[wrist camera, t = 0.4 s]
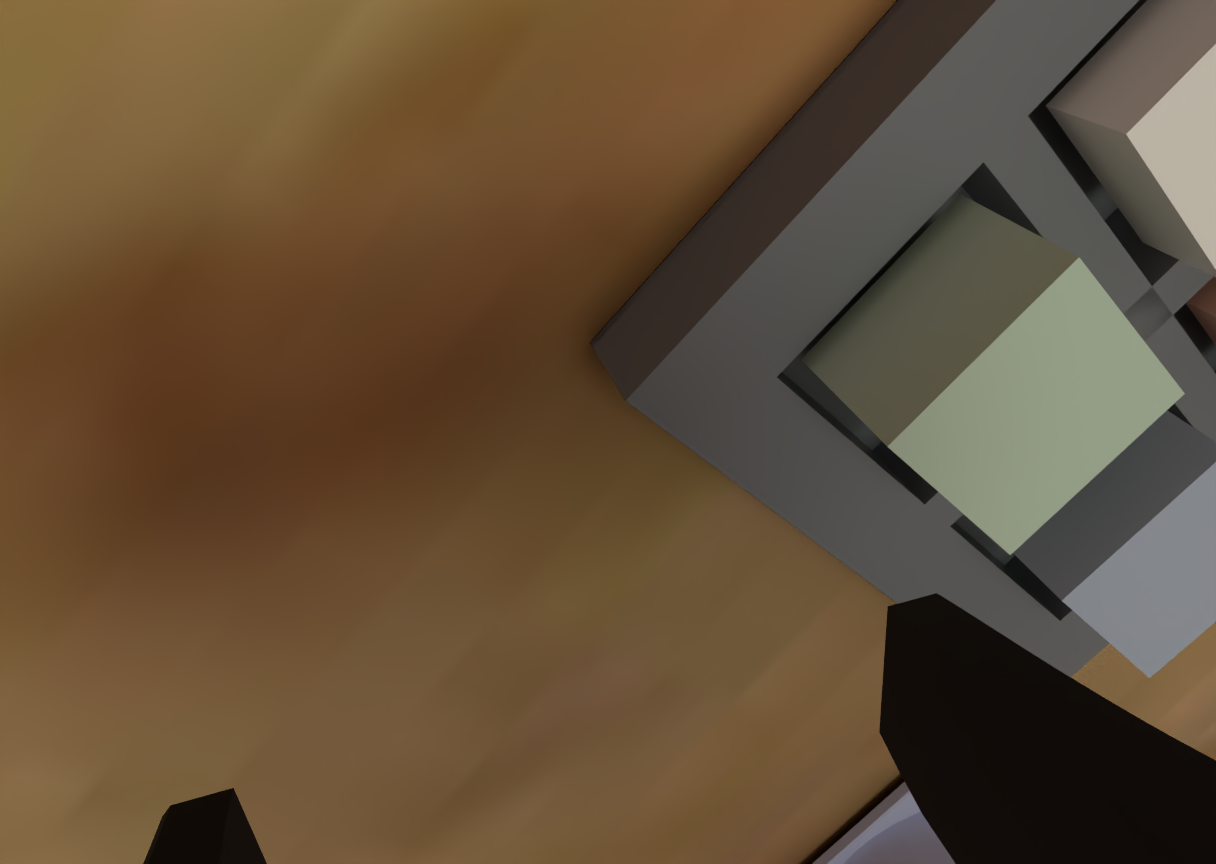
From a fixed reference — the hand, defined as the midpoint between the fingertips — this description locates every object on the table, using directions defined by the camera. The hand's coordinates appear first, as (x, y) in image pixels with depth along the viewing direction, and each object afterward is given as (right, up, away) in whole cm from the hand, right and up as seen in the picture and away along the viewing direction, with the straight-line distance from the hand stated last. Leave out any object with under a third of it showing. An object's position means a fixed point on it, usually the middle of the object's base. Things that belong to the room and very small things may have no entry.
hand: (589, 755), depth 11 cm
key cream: (+10, +10, +7) cm, 16 cm away
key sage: (+6, +5, +8) cm, 12 cm away
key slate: (+11, +2, +11) cm, 16 cm away
